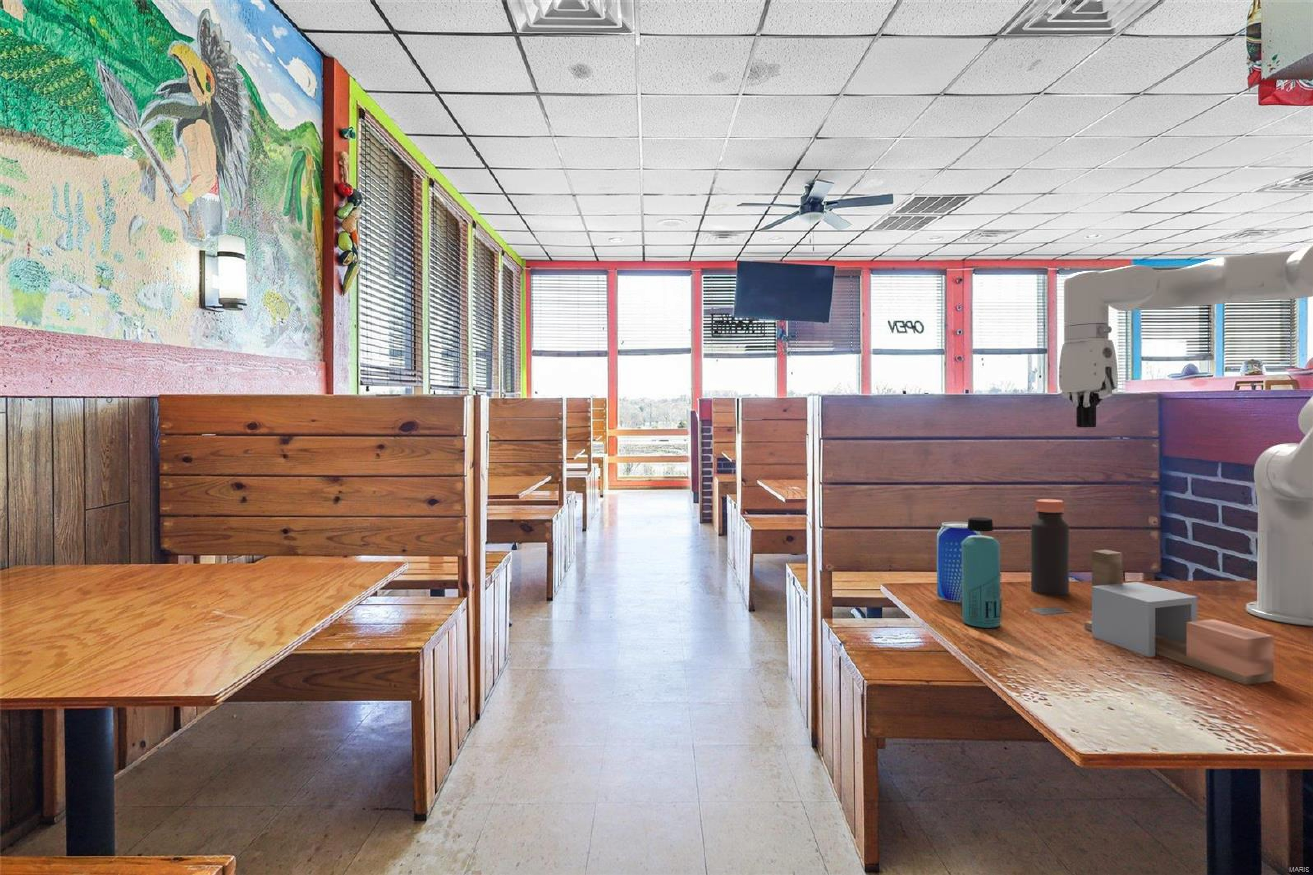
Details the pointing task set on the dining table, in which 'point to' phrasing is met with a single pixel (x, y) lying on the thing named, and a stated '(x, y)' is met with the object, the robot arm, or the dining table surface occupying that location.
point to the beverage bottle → (981, 576)
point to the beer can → (951, 559)
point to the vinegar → (1050, 549)
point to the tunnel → (1140, 615)
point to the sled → (1203, 637)
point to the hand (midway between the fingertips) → (1086, 427)
